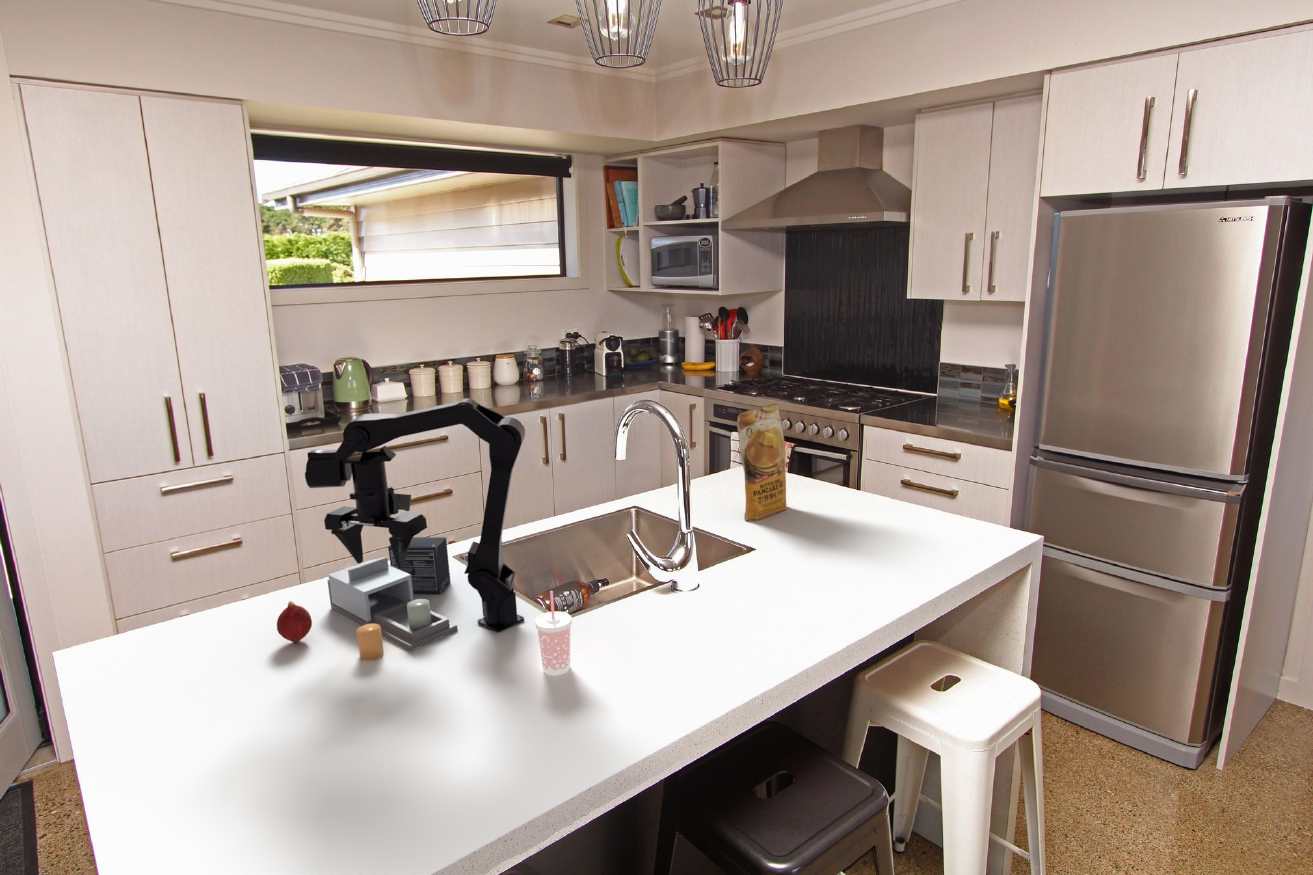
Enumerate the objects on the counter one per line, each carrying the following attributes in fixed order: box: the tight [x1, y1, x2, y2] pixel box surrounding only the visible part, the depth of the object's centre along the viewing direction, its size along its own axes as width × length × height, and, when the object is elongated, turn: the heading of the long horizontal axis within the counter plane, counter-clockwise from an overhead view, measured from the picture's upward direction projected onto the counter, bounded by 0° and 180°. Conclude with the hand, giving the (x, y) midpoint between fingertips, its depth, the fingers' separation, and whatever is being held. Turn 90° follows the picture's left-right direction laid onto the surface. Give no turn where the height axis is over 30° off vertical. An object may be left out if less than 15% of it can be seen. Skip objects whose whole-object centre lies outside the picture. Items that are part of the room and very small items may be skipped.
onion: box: [276, 600, 313, 643], centre depth 144 cm, size 6×6×8 cm
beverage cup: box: [534, 590, 573, 676], centre depth 132 cm, size 6×6×14 cm
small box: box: [387, 536, 452, 595], centre depth 166 cm, size 11×6×10 cm, turn 84°
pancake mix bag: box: [736, 403, 787, 521], centre depth 204 cm, size 7×19×28 cm, turn 132°
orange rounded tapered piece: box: [356, 624, 385, 662], centre depth 139 cm, size 4×4×5 cm
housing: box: [327, 579, 459, 652], centre depth 152 cm, size 28×10×6 cm, turn 50°
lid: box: [327, 556, 415, 622], centre depth 156 cm, size 14×10×8 cm
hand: (380, 565), depth 146 cm, fingers open, 9 cm apart
